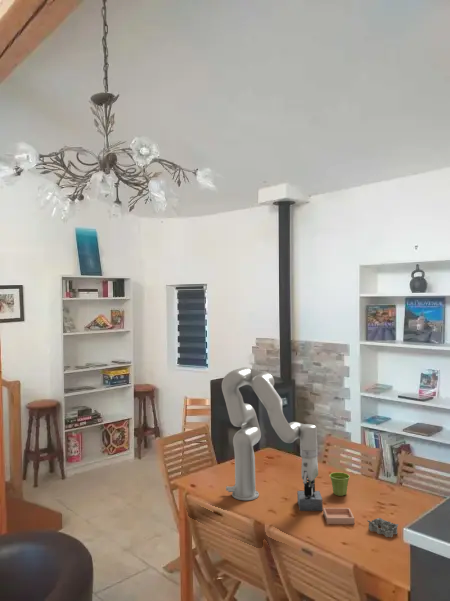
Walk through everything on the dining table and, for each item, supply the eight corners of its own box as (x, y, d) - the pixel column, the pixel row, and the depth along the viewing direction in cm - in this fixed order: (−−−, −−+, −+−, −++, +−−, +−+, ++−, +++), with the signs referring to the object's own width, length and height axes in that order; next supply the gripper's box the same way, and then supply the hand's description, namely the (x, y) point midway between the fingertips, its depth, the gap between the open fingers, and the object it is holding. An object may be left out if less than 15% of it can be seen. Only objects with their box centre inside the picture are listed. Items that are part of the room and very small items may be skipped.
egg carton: (365, 530, 199) (365, 519, 199) (377, 524, 204) (376, 514, 204) (389, 539, 191) (388, 528, 191) (400, 533, 196) (400, 523, 196)
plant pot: (350, 498, 231) (350, 479, 232) (329, 496, 233) (329, 478, 233) (349, 490, 241) (349, 472, 241) (329, 489, 242) (329, 471, 243)
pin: (312, 508, 220) (312, 485, 220) (304, 507, 222) (303, 484, 222) (315, 505, 224) (315, 482, 224) (307, 503, 226) (306, 481, 226)
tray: (327, 524, 204) (326, 517, 205) (323, 513, 215) (323, 507, 215) (354, 524, 204) (354, 518, 204) (349, 513, 214) (349, 508, 214)
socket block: (299, 510, 218) (299, 499, 218) (297, 501, 228) (297, 490, 228) (322, 510, 218) (322, 499, 218) (319, 501, 228) (319, 490, 228)
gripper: (311, 459, 214) (311, 501, 214) (322, 448, 229) (323, 488, 229) (294, 456, 217) (295, 498, 217) (306, 446, 232) (307, 486, 232)
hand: (309, 493), depth 223 cm, fingers closed on pin, 4 cm apart
